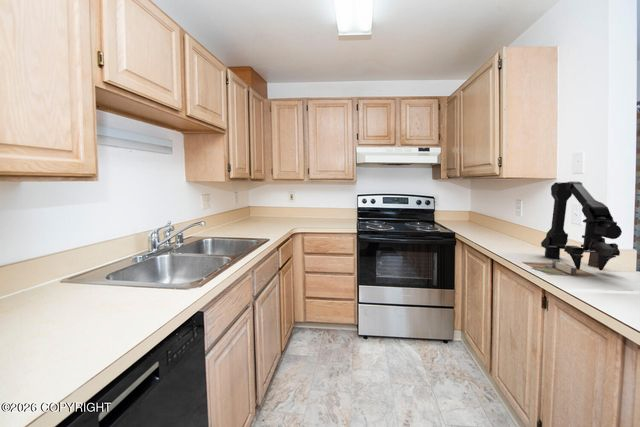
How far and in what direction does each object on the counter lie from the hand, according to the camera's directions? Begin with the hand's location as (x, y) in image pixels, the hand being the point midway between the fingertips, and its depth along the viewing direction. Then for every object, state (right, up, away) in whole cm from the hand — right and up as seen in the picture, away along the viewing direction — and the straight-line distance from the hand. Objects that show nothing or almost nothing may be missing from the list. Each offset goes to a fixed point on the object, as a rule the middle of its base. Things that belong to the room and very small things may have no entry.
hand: (589, 269), depth 133 cm
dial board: (-9, -2, +6) cm, 11 cm away
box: (+13, -1, +12) cm, 18 cm away
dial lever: (-10, -1, +2) cm, 10 cm away
